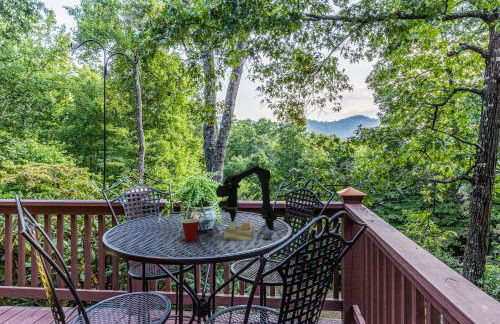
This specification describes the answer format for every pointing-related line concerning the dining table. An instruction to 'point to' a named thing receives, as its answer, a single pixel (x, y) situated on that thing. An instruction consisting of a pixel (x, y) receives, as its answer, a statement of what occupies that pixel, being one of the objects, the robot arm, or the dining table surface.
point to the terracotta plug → (246, 226)
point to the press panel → (239, 233)
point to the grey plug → (232, 225)
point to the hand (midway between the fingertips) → (232, 221)
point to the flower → (265, 232)
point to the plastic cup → (190, 229)
